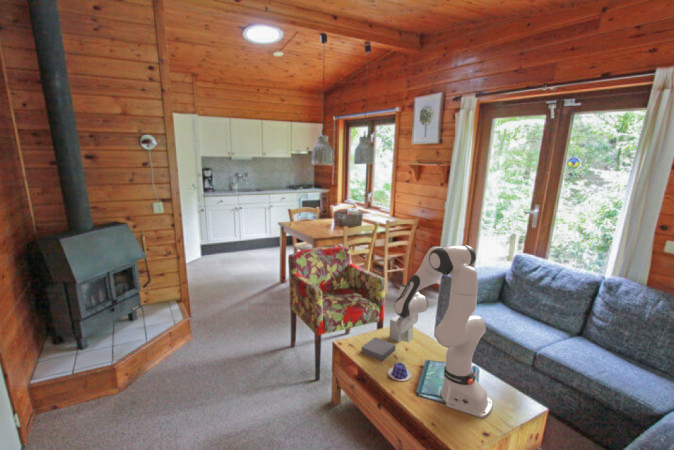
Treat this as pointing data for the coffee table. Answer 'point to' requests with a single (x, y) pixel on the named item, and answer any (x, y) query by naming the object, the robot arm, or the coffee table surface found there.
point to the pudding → (399, 372)
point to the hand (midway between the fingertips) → (406, 335)
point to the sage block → (407, 335)
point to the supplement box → (393, 334)
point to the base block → (378, 349)
